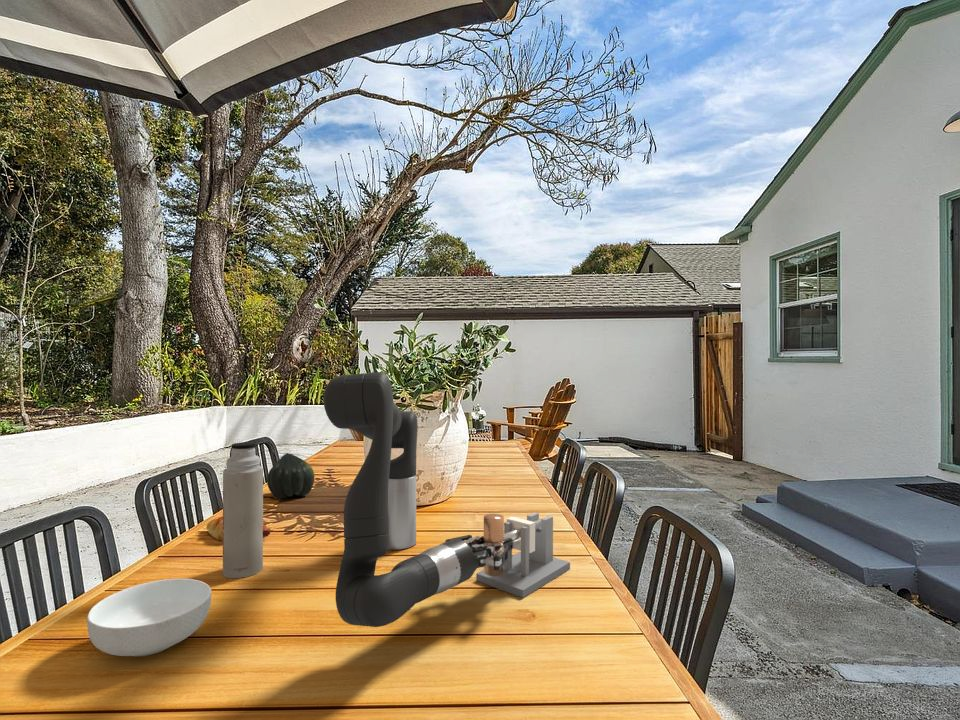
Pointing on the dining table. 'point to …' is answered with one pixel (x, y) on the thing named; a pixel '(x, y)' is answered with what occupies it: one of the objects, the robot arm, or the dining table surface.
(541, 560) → the shaft bracket
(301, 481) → the squash
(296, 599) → the dining table surface
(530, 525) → the block
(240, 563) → the thermos bottle
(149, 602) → the cereal bowl
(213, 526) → the croissant
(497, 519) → the shaft
